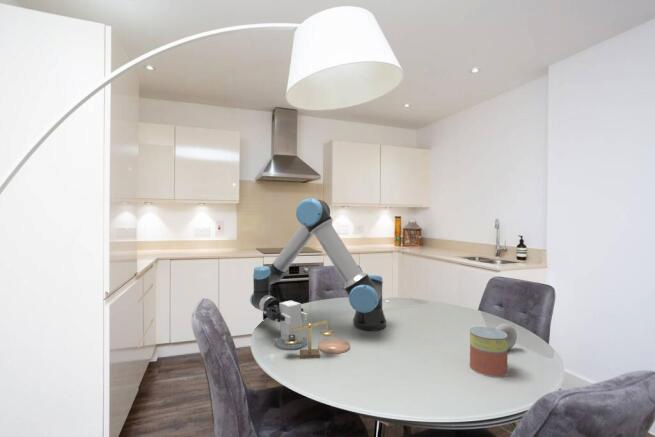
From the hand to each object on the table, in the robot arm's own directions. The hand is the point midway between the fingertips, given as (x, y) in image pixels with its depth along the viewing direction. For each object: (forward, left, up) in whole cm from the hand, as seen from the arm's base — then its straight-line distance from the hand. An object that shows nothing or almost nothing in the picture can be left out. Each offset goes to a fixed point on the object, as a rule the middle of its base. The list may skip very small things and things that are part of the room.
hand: (298, 319), depth 126 cm
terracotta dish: (-13, 0, -11) cm, 17 cm away
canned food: (-62, +23, -11) cm, 67 cm away
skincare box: (+3, -4, -10) cm, 11 cm away
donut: (-77, +9, -11) cm, 78 cm away
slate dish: (+3, -4, -11) cm, 12 cm away
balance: (-4, +7, -11) cm, 14 cm away
